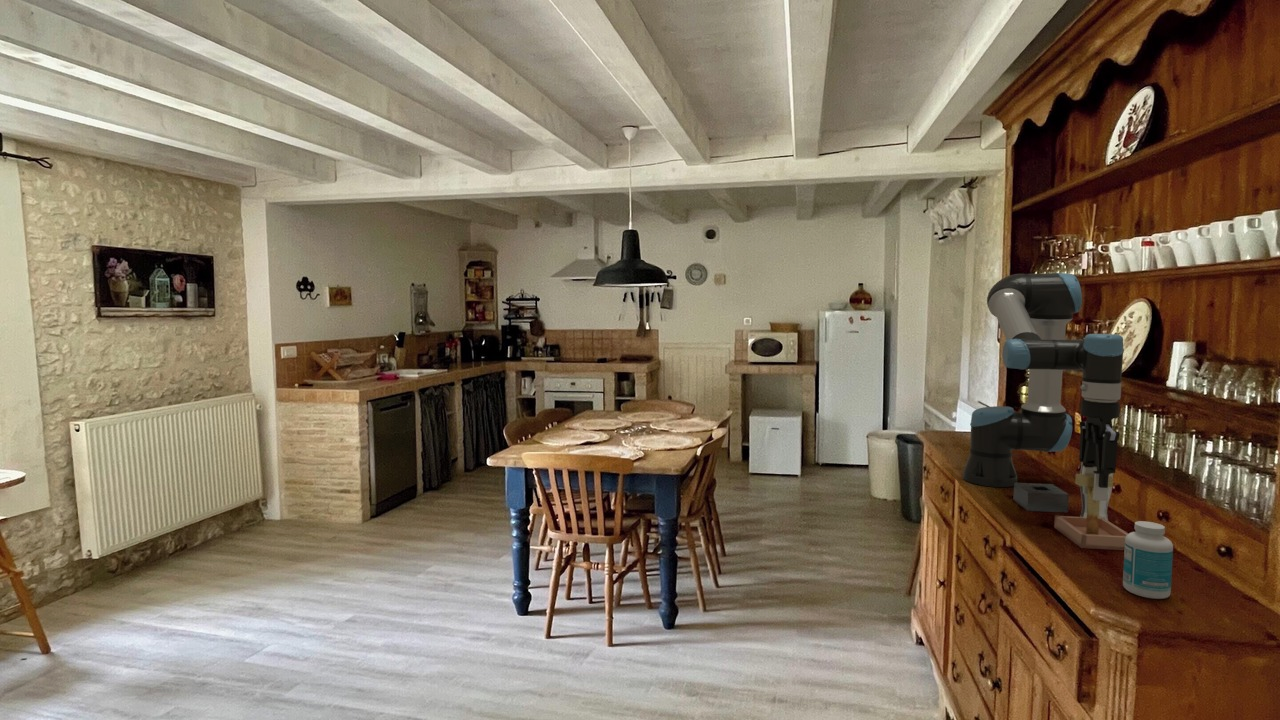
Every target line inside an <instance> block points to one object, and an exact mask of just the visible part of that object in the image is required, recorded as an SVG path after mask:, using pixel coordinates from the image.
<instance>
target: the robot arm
mask: <svg viewBox="0 0 1280 720" xmlns="http://www.w3.org/2000/svg"><path fill="white" fill-rule="evenodd" d="M986 304H987V308H988V311H989V312H990V314H991V315H993V316H994V317H995V318H996V319H997V322H998V324H999V327H1000V329H1001V330H1002V333H1003V335H1004V338H1005V342H1004V344H1003V347H1002V360H1003V361H1002V362H1003V364H1004V366H1005V367H1006V368H1008V369H1016V370H1017V369H1018V370H1029V372H1028V373H1029V374H1028V388H1027V399H1026V402H1024V403H1023V404H1022V405H1021V408H1020V411H1015V410H1014V408H1013V407H1011V406H1007V405H1006V406H1005V405H1004V406H1001V405H999V406H986V407H980V408H976V409H975V410H973V412H972V413H971V420H970V441H969V443H970V444H969V456H968V458H967V461H966V464H965V465H964V469H963V471H962V479H963V480H964V481H966V482H968V483H971V484H975V485H979V486H984V487H995V488H1009V487H1014V483H1018V474H1017V472H1016V468H1015V466H1014V462H1013V458H1012V457H1013V456H1012V455H1013V453H1012V452H1013V450H1019V451H1035V452H1046V453H1049V452H1062V451H1064V450H1065V449H1066V448H1067V447H1068V445H1069V444H1070V440H1071V437H1072V434H1073V433H1072V432H1073V419H1072V417H1071V415H1070V414H1068V413H1067V411H1066V410H1067V409H1066V408H1065V407H1064V406H1063V405H1062V403H1061V400H1062V399H1061V397H1062V385H1063V373H1064V372H1063V371H1082V377H1081V378H1082V379H1081V380H1082V382H1081V385H1080V387H1079V388H1080V390H1081V397H1082V398H1083V399H1082V400H1081V401H1080V415H1082V416H1083V417H1086V420H1085V421H1079V430H1080V432H1079V434H1080V435H1079V436H1080V437H1079V456H1078V459H1079V460H1078V461H1079V462H1080V463H1082V462H1083V466H1085V467H1084V474H1094V490H1093V500H1095V501H1107V499H1108V482H1109V474H1111V473H1113V474H1115V473H1116V468H1117V456H1118V453H1117V452H1118V443H1119V439H1120V435H1121V434H1120V432H1119V431H1114V430H1113V427H1114V426H1113V419H1117V418H1119V417H1120V411H1121V410H1120V409H1121V403H1120V402H1119V400H1121V395H1122V375H1123V374H1122V373H1123V360H1124V359H1123V357H1124V353H1125V349H1124V338H1123V336H1122V335H1120V334H1117V333H1116V334H1115V333H1114V334H1113V333H1088V334H1086V335H1085V336H1084V338H1079V339H1066V331H1067V330H1066V329H1067V328H1066V327H1067V324H1068V323H1070V322H1071V321H1072V320H1073V319H1074V318H1073V316H1074V314H1077V313H1079V312H1080V311H1081V310H1082V309H1081V308H1082V304H1083V294H1082V287H1081V285H1080V282H1079V280H1078V278H1077V276H1075V275H1074V274H1072V273H1068V272H1067V273H1063V272H1051V273H1050V272H1049V273H1047V272H1045V273H1044V272H1043V273H1014V274H1010V275H1008V276H1005V277H1003V278H1001V279H999V280H998V281H997V282H996V283H995V284H994V285H993V286H992V287H991V288H990V290H989V292H988V295H987V297H986ZM1095 467H1097V468H1095ZM1083 494H1088V486H1083Z"/></svg>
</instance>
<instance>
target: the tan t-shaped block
mask: <svg viewBox="0 0 1280 720" xmlns="http://www.w3.org/2000/svg"><path fill="white" fill-rule="evenodd" d="M1074 483H1075V485H1077V486H1079V487H1080V486H1088V497H1087V526H1086V534H1094V535H1098V533H1099V505H1100V501H1095V500H1093V490H1094V474H1080V473H1075V482H1074ZM1108 487H1112V488H1114V476H1113V477H1112V476H1109V482H1108Z"/></svg>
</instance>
